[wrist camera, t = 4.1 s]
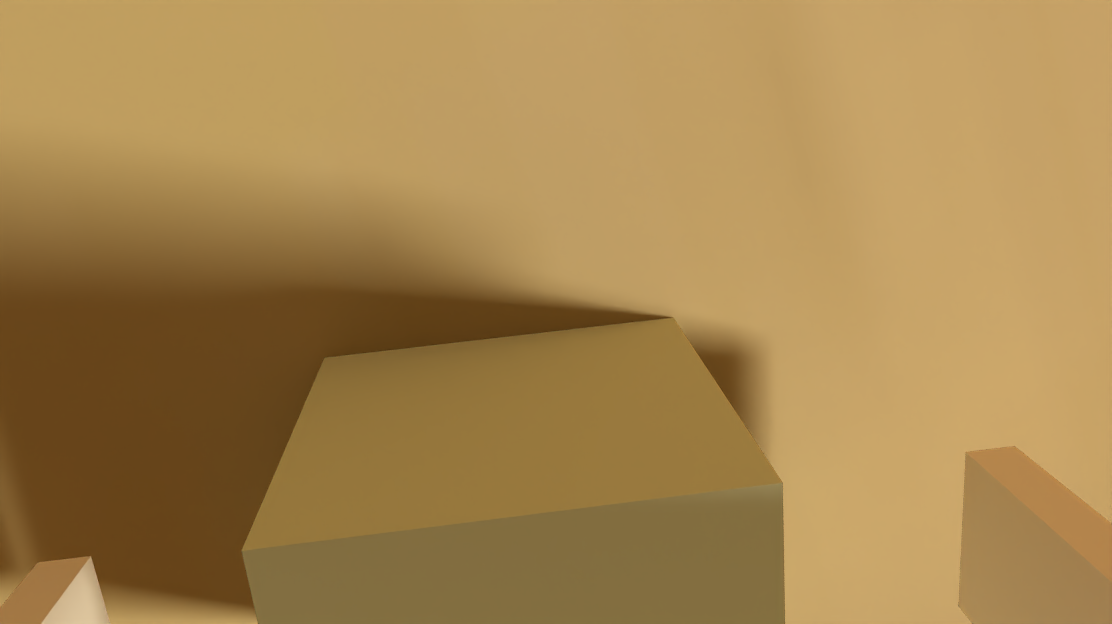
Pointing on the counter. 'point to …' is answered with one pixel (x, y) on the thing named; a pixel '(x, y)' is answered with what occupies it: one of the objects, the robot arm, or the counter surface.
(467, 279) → the counter surface
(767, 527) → the sage brick
